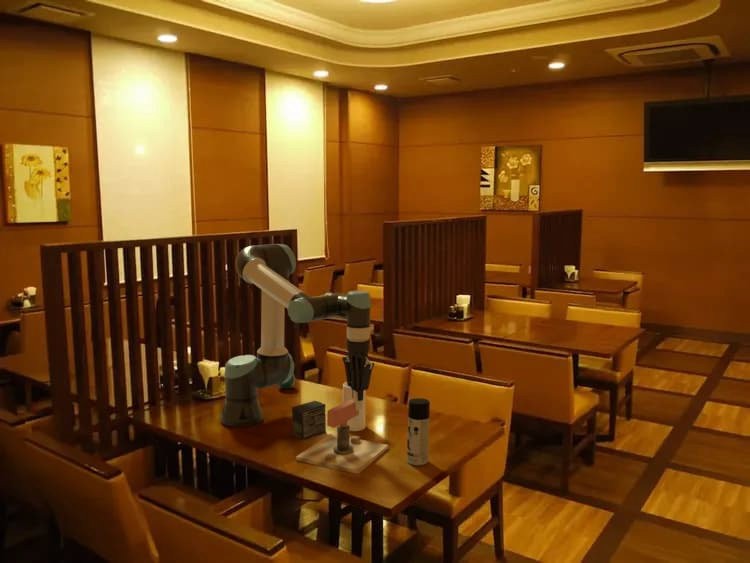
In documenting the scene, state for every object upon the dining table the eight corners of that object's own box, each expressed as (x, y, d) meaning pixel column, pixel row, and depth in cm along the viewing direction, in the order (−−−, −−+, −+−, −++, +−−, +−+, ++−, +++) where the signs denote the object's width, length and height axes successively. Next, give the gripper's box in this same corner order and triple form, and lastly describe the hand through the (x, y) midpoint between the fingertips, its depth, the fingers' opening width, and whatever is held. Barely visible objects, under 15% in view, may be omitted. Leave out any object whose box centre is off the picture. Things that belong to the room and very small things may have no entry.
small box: (314, 427, 230) (314, 399, 229) (326, 432, 225) (326, 404, 224) (291, 435, 223) (291, 406, 221) (302, 440, 218) (302, 411, 217)
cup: (362, 432, 226) (363, 388, 224) (340, 430, 228) (340, 386, 226) (367, 424, 234) (367, 381, 232) (345, 422, 236) (346, 380, 234)
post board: (296, 460, 202) (296, 432, 201) (330, 436, 222) (330, 411, 220) (358, 474, 193) (358, 445, 191) (388, 448, 212) (388, 421, 211)
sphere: (273, 390, 272) (273, 372, 271) (279, 384, 280) (279, 367, 278) (292, 391, 270) (291, 373, 269) (297, 386, 278) (297, 368, 277)
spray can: (405, 457, 205) (406, 397, 202) (426, 457, 206) (428, 397, 203) (408, 466, 199) (409, 404, 196) (429, 465, 199) (431, 404, 196)
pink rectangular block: (334, 433, 199) (334, 412, 198) (327, 431, 200) (327, 410, 200) (358, 420, 211) (359, 400, 210) (352, 418, 212) (352, 398, 211)
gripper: (380, 340, 204) (379, 411, 207) (353, 333, 213) (352, 402, 216) (363, 344, 199) (363, 417, 202) (336, 337, 208) (335, 407, 211)
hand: (357, 409), depth 209 cm, fingers closed
